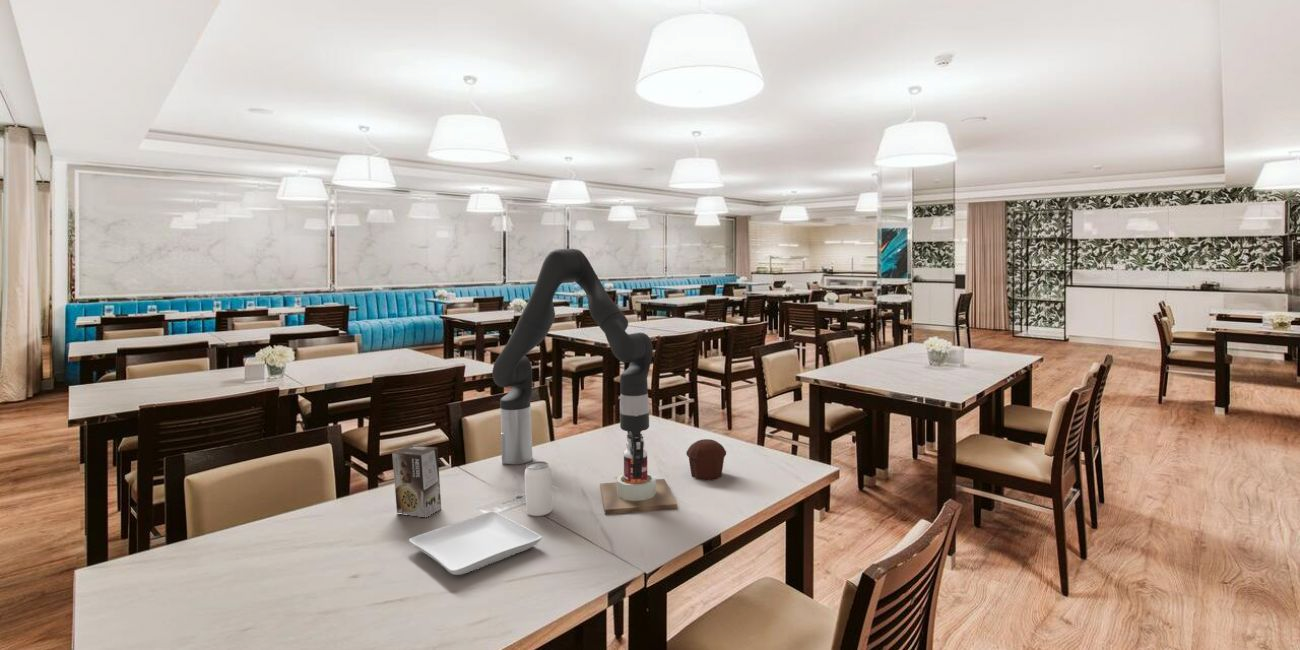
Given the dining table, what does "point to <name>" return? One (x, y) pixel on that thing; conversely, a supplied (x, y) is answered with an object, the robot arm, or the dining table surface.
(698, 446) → the muffin
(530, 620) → the dining table surface
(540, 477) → the can
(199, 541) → the dining table surface
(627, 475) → the pill bottle
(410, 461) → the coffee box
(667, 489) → the walnut board
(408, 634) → the dining table surface
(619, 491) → the pale green bowl
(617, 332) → the robot arm
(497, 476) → the dining table surface
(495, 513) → the salad plate
